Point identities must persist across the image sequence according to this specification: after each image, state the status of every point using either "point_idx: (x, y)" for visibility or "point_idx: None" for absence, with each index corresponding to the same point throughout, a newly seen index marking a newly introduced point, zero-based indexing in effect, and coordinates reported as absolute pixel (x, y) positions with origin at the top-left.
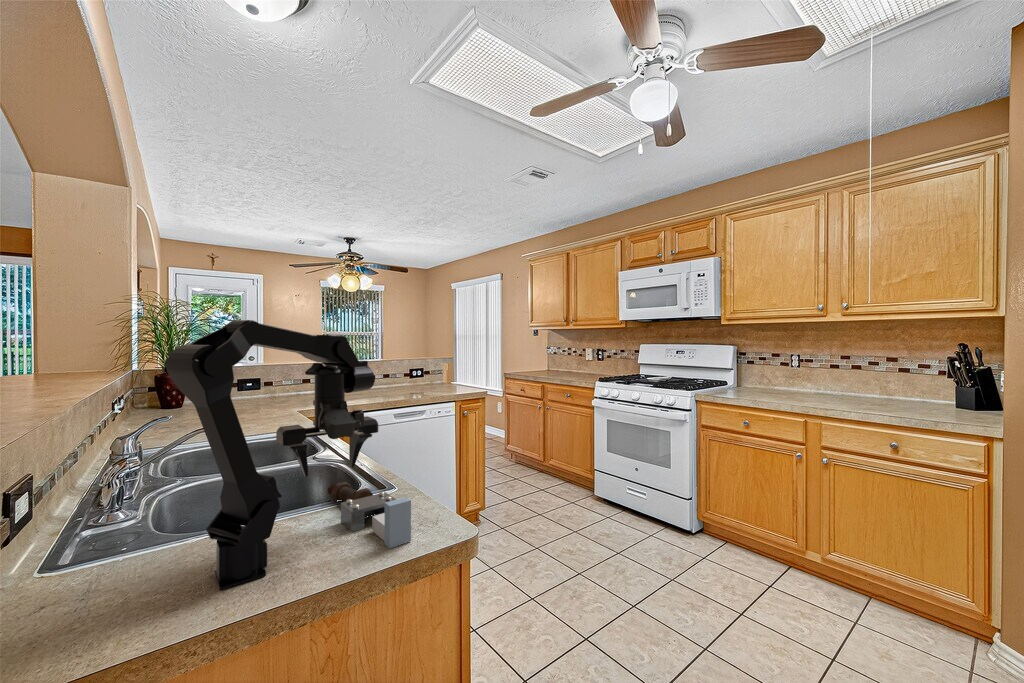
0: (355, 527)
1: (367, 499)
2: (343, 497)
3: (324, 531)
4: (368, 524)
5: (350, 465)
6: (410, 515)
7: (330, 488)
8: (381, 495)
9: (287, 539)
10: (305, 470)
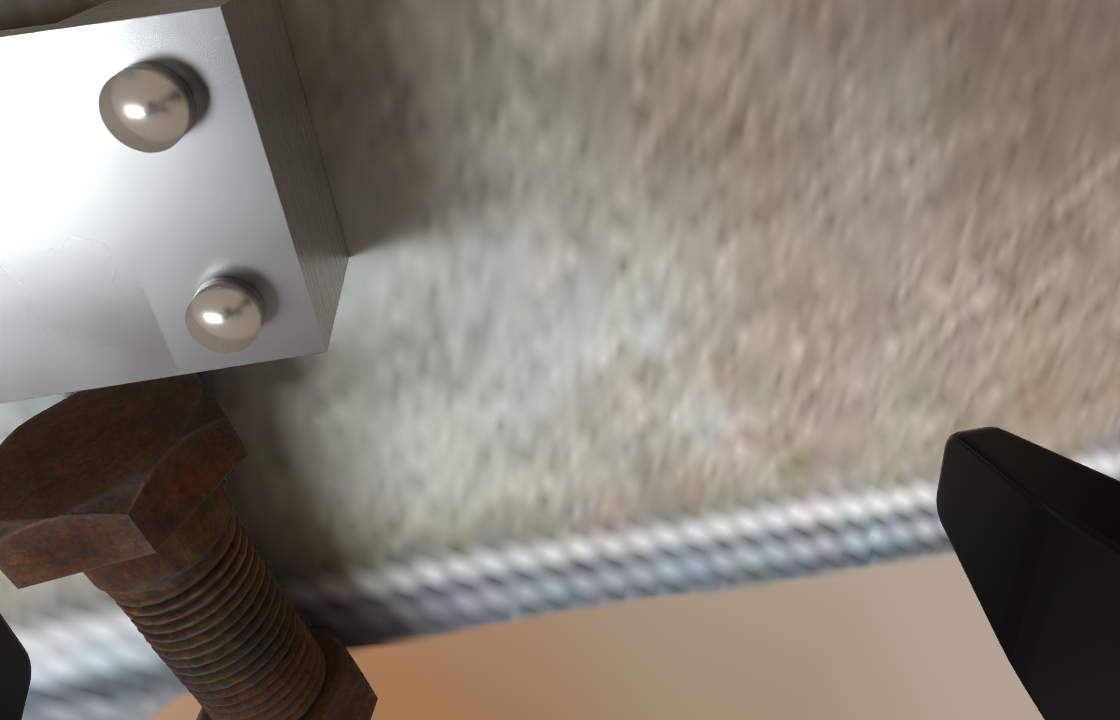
0: None
1: (1, 313)
2: (283, 611)
3: (509, 144)
4: None
5: (15, 683)
6: None
7: None
8: None
9: (804, 147)
10: (1104, 493)
